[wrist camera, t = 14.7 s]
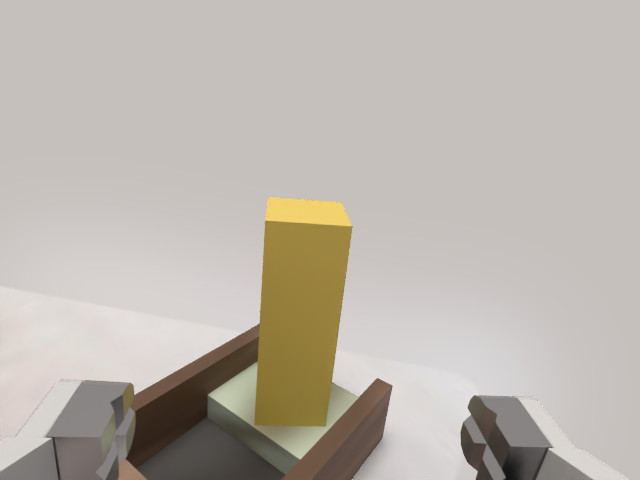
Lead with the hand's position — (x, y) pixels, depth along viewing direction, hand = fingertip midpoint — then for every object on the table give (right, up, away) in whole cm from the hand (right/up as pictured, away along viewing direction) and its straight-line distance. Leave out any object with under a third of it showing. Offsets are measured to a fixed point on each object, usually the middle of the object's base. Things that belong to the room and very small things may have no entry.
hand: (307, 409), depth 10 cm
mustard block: (-2, -6, +15) cm, 16 cm away
